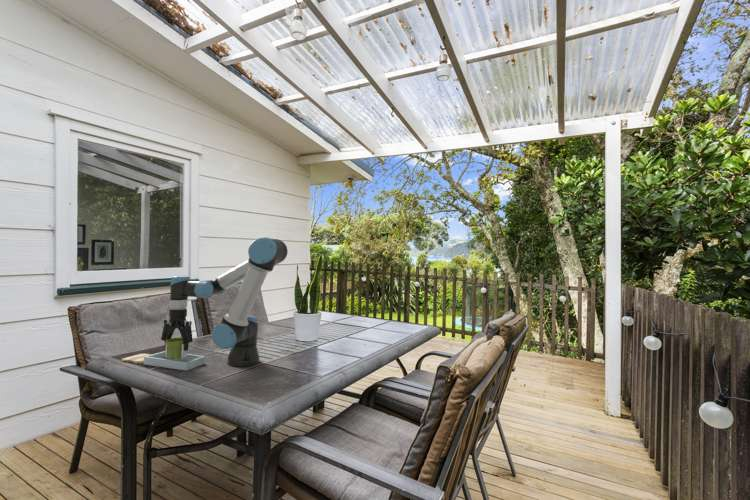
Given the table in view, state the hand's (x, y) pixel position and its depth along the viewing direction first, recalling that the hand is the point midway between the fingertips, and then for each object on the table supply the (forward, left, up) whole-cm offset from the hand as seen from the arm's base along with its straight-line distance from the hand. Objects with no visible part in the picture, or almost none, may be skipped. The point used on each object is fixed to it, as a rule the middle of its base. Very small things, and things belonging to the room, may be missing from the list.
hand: (175, 356), depth 175 cm
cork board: (+20, 0, -4) cm, 20 cm away
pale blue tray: (0, 0, -4) cm, 4 cm away
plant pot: (0, 0, -1) cm, 1 cm away
